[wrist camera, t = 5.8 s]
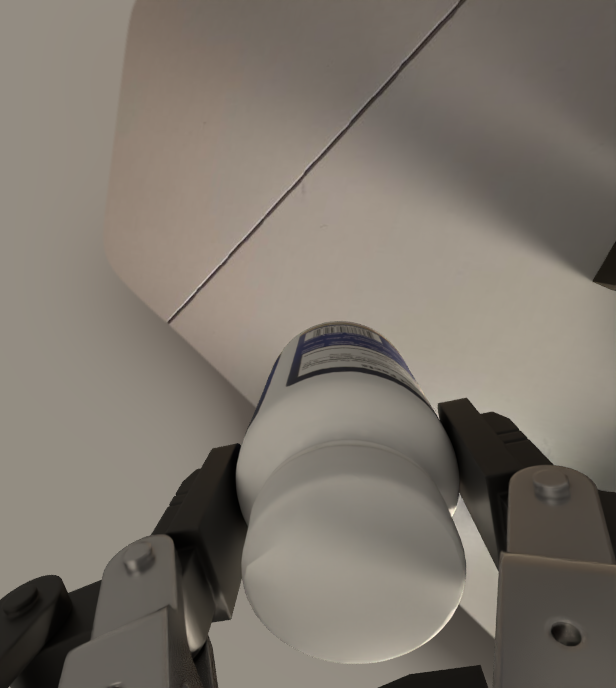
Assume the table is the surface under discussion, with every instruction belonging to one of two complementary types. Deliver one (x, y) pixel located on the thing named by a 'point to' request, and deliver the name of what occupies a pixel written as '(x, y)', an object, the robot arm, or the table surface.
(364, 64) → the table surface
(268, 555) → the pill bottle
